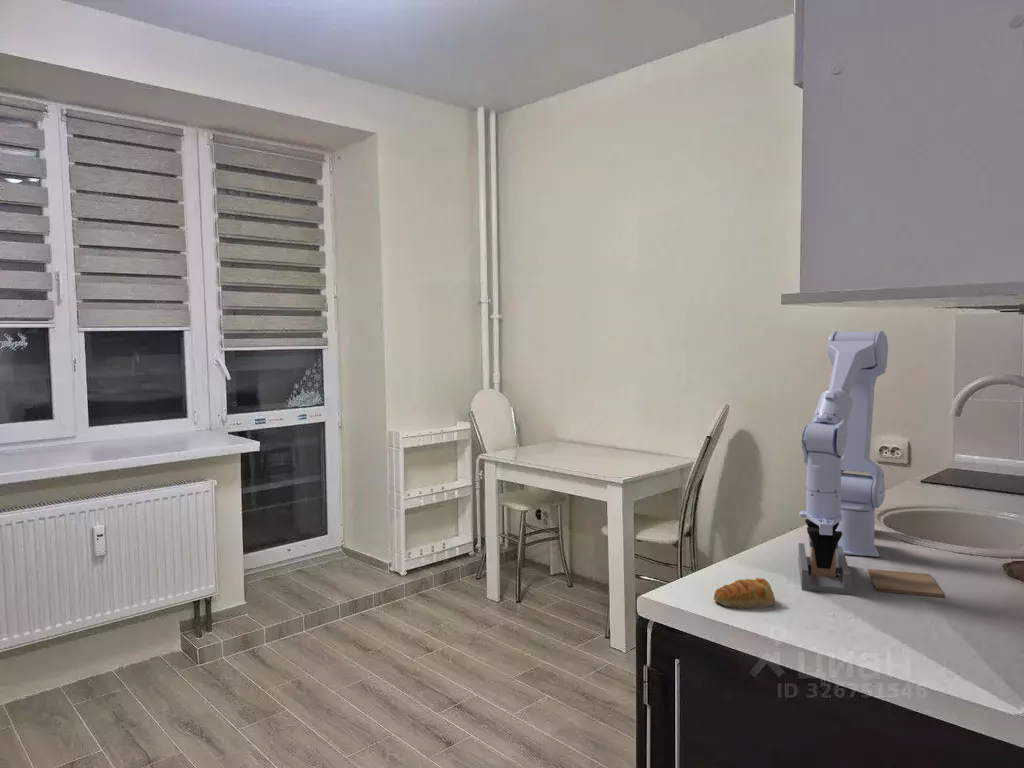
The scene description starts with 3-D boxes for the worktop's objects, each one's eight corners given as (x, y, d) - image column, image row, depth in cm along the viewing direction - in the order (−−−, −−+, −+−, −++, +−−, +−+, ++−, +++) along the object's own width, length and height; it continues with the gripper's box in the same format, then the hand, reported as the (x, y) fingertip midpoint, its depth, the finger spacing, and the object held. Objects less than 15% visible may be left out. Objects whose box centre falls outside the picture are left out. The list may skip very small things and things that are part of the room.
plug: (808, 571, 131) (808, 534, 131) (835, 573, 130) (835, 536, 129) (809, 579, 127) (809, 541, 126) (837, 582, 125) (838, 543, 125)
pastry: (725, 613, 113) (725, 590, 113) (706, 598, 120) (706, 576, 120) (778, 608, 115) (778, 585, 115) (757, 593, 122) (757, 571, 121)
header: (798, 560, 137) (798, 543, 137) (841, 564, 134) (841, 546, 134) (801, 589, 122) (802, 569, 122) (850, 594, 120) (850, 574, 119)
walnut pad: (868, 571, 130) (868, 568, 130) (930, 576, 127) (930, 574, 127) (875, 590, 121) (875, 587, 121) (942, 597, 117) (942, 594, 117)
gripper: (798, 480, 135) (797, 549, 136) (801, 497, 122) (800, 574, 123) (838, 482, 133) (837, 552, 134) (846, 499, 119) (845, 578, 120)
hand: (822, 563), depth 128 cm, fingers closed on plug, 4 cm apart
